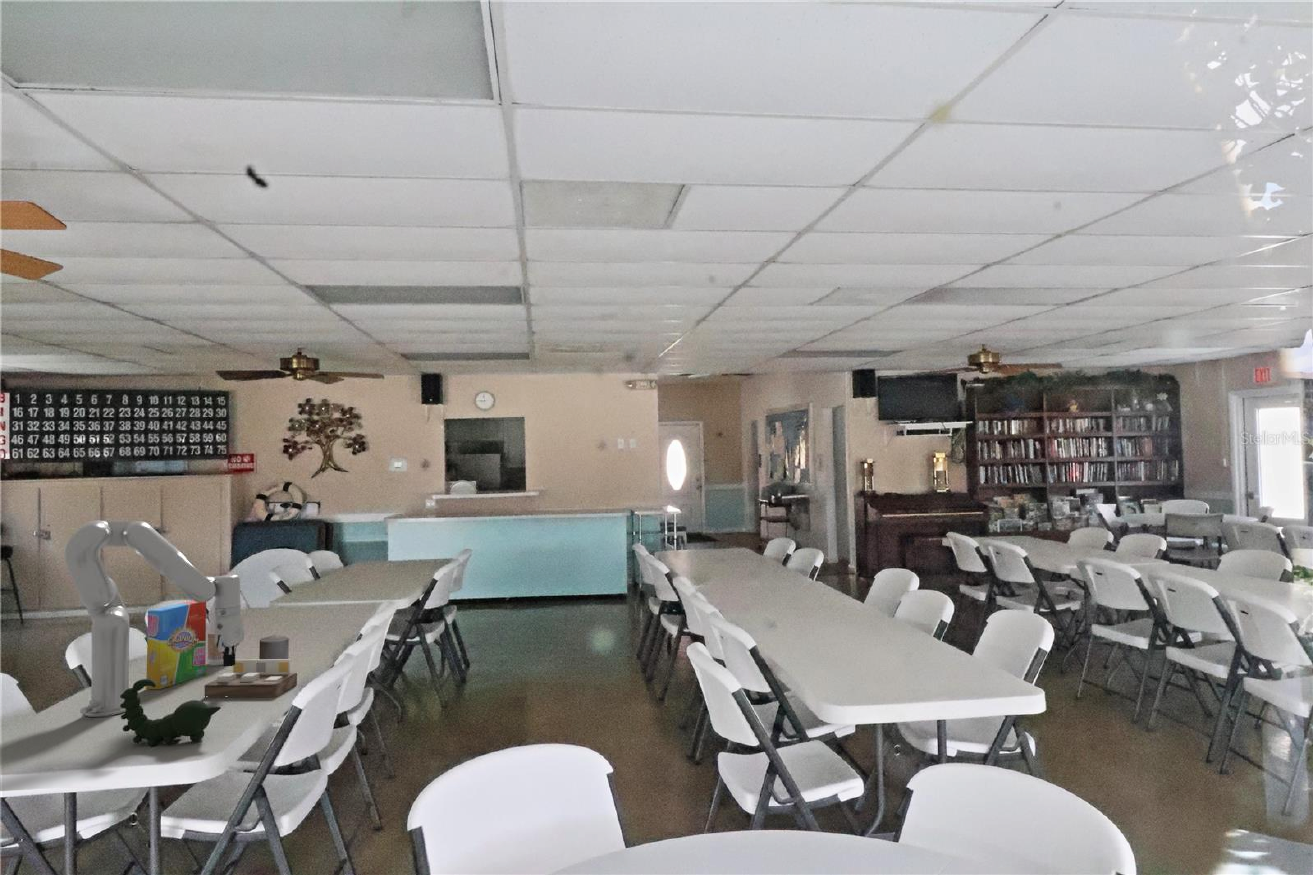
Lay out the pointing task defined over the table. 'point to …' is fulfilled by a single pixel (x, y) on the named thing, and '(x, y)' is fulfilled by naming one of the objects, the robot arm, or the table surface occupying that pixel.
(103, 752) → the table surface
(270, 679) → the right button
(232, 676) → the left button
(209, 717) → the toy figurine
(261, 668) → the card
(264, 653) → the pillar candle
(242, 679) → the middle button
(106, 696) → the robot arm
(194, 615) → the game box
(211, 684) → the button board
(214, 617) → the fruit juice
